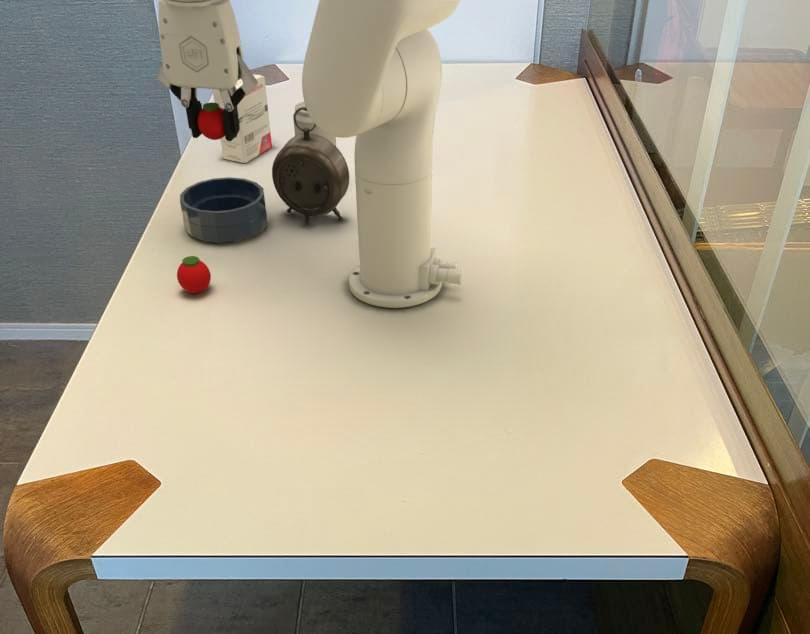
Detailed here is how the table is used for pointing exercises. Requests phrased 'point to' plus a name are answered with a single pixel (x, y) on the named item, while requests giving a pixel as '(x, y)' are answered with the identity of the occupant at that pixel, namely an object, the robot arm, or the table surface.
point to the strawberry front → (211, 121)
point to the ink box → (248, 124)
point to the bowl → (224, 209)
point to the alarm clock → (310, 174)
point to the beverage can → (309, 124)
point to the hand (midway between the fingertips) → (215, 134)
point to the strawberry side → (193, 275)
